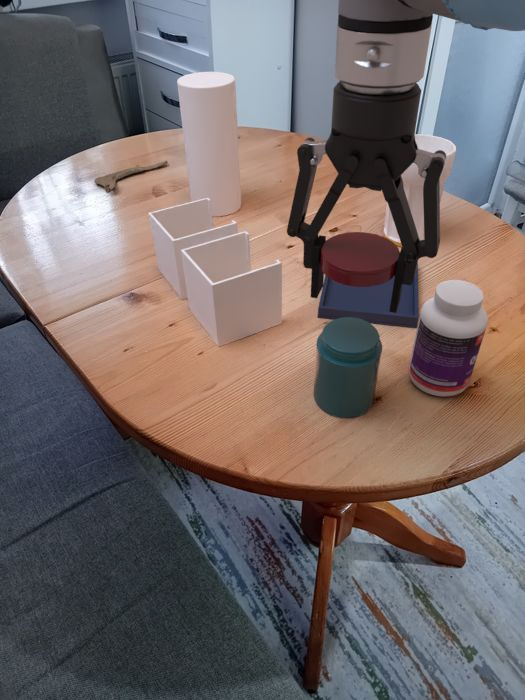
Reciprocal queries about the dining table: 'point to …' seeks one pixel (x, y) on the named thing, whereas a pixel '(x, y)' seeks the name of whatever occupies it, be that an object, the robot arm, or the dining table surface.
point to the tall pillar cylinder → (211, 139)
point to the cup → (420, 185)
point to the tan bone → (123, 175)
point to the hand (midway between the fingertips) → (355, 298)
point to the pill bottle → (448, 338)
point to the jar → (347, 367)
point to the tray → (370, 303)
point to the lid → (359, 259)
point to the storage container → (216, 272)
